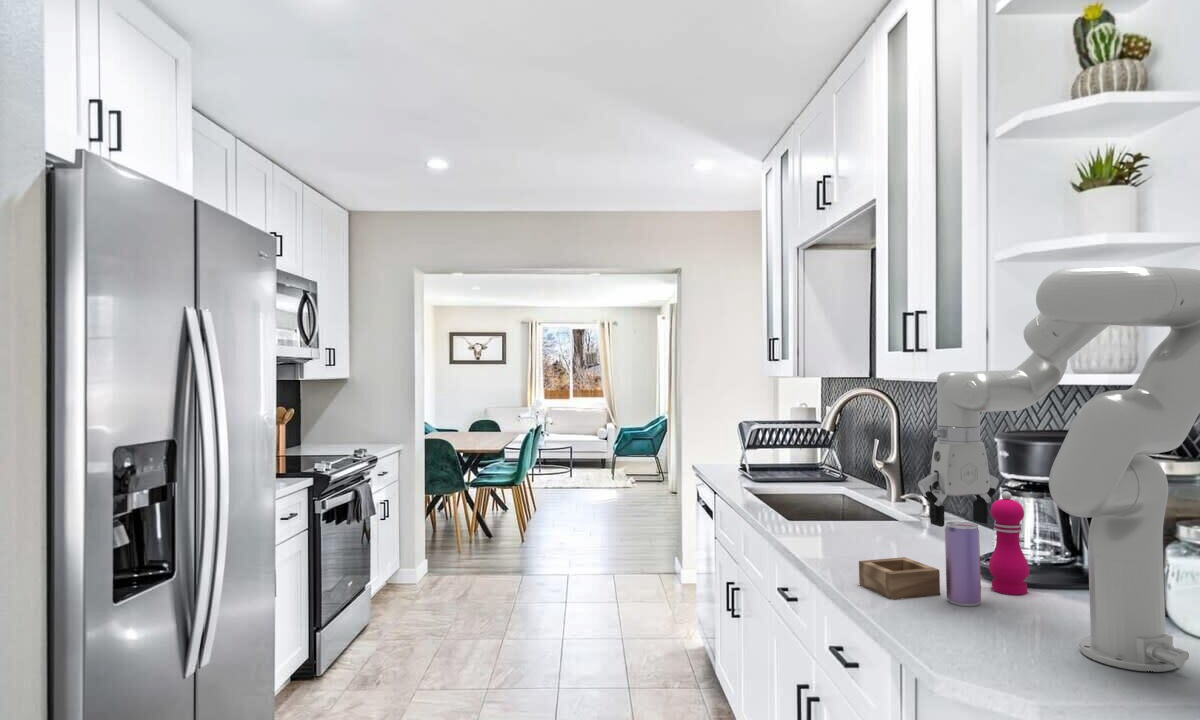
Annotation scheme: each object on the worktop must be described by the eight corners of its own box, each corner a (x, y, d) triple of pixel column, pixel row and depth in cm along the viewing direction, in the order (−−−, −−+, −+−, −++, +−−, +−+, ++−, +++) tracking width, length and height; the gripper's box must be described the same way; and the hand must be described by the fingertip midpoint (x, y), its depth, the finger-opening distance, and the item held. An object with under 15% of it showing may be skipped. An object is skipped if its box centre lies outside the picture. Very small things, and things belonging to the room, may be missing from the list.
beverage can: (973, 609, 141) (970, 528, 142) (941, 602, 146) (939, 524, 146) (986, 602, 145) (984, 524, 145) (955, 596, 150) (952, 519, 150)
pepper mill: (1035, 596, 148) (1032, 494, 149) (995, 595, 150) (992, 493, 150) (1022, 586, 155) (1019, 489, 156) (984, 585, 157) (981, 488, 157)
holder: (940, 594, 150) (939, 569, 151) (891, 599, 148) (890, 573, 148) (905, 580, 161) (904, 557, 161) (859, 584, 159) (858, 561, 159)
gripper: (932, 438, 141) (933, 530, 141) (1010, 435, 145) (1011, 525, 145) (907, 434, 148) (907, 522, 148) (982, 432, 152) (983, 517, 152)
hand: (959, 523), depth 146 cm, fingers open, 9 cm apart
